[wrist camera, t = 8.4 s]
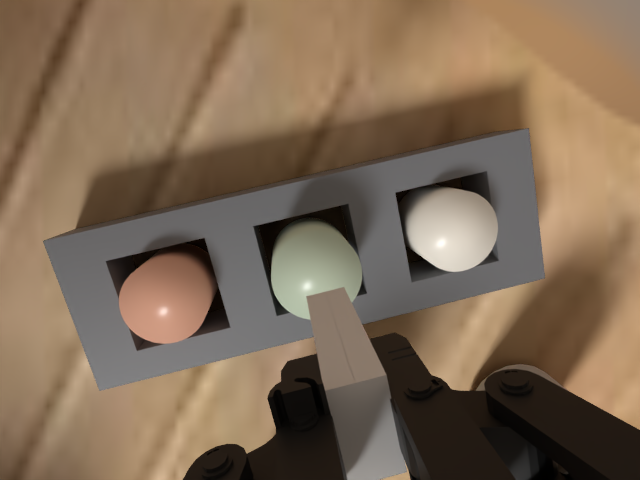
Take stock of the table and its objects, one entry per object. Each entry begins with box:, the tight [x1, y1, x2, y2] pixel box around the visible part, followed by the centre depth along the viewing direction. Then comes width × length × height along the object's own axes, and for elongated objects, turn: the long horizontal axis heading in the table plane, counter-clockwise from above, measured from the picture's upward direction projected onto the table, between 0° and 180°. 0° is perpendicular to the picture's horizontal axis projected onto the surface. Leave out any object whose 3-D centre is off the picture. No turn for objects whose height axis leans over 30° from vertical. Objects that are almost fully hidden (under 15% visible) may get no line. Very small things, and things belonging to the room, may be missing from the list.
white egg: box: [398, 184, 498, 272], centre depth 28 cm, size 5×5×5 cm
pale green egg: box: [271, 218, 362, 320], centre depth 25 cm, size 5×5×5 cm
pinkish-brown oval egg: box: [119, 243, 218, 344], centre depth 27 cm, size 5×5×5 cm
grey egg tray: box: [43, 128, 545, 391], centre depth 28 cm, size 30×10×4 cm, turn 103°
